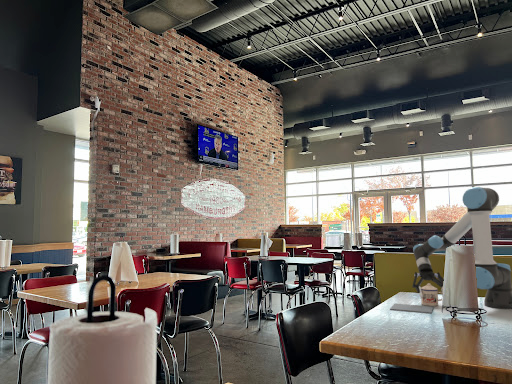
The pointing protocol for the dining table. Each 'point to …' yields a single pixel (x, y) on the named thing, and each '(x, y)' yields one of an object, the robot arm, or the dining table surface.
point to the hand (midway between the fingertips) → (433, 297)
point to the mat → (412, 308)
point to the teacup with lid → (430, 295)
